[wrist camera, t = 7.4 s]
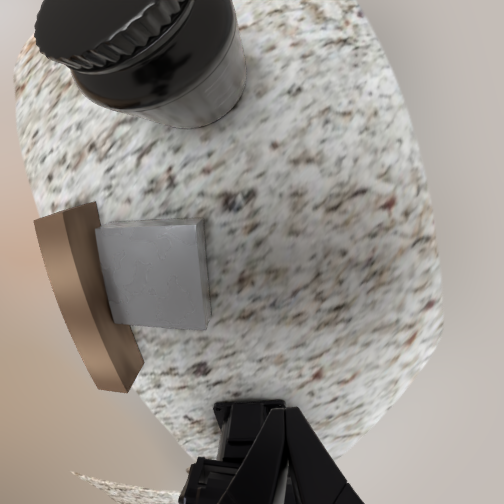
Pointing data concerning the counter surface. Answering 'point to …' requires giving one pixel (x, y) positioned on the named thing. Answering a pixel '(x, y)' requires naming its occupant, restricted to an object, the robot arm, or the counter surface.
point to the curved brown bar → (87, 297)
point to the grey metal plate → (156, 272)
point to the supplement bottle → (149, 55)
